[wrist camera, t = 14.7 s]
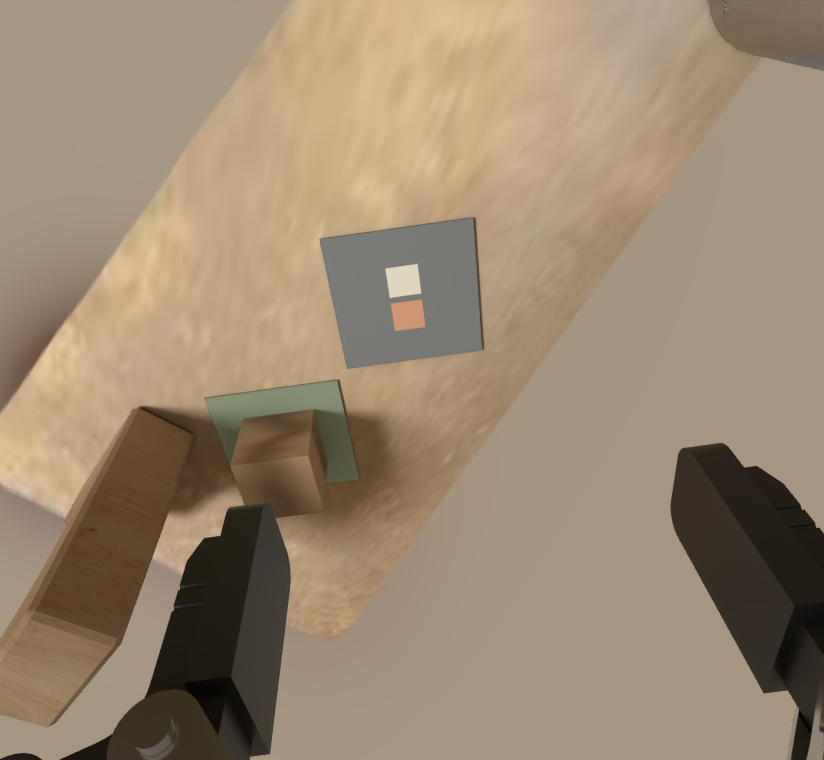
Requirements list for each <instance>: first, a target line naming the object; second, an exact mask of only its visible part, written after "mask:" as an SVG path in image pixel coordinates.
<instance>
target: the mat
mask: <svg viewBox="0 0 824 760" xmlns="http://www.w3.org/2000/svg"><path fill="white" fill-rule="evenodd" d="M204 399H205V402H206V405H207V407H208V410H209V413H210V415H211V418H212V421H213V423H214V426H215V429H216V431H217V434H218V436H219V439H220V442H221V444H222V447H223V450H224V452H225V455H226V458H227V460H228V463H229V466H230V465H231V461H232V457H233V454H234V450H235V446H236V442H237V439H238V435H239V431H240V428H241V424H242V420H243V419H244V418H251V417H258V416H266V415H273V414H280V413H288V412H295V411H302V410H310V409H314V413H315V417H316V421H317V424H318V428H319V432H320V436H321V440H322V444H323V447H324V451H325V455H326V459H327V476H326V484H332V483H340V482H347V481H355V480H360V478H359V474H358V469H357V465H356V460H355V456H354V452H353V447H352V443H351V438H350V434H349V430H348V425H347V421H346V416H345V412H344V407H343V403H342V399H341V394H340V390H339V385H338V381H337V380H332V381H325V382H317V383H310V384H303V385H295V386H288V387H281V388H273V389H266V390H259V391H251V392H244V393H237V394H229V395H222V396H215V397H207V398H204ZM230 468H231V467H230ZM231 471H232V470H231ZM232 474H233V472H232ZM233 476H234V475H233ZM234 479H235V478H234ZM235 482H236V480H235ZM236 484H237V483H236ZM237 487H238V486H237ZM238 489H239V488H238ZM239 492H240V491H239ZM240 495H241V494H240Z"/></svg>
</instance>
